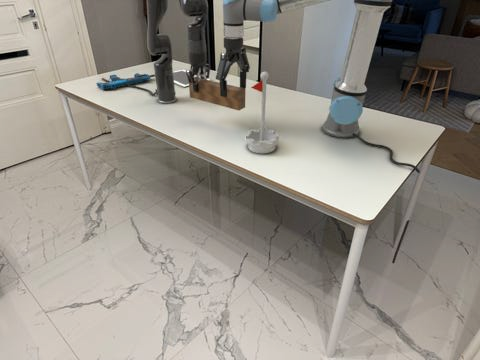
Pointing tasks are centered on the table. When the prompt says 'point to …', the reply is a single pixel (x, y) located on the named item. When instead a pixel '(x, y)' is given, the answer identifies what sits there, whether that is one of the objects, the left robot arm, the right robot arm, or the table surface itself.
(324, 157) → the table surface
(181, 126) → the table surface
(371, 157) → the table surface
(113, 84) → the submachine gun
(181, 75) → the tablet
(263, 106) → the flag stand
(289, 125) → the table surface
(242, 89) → the bar
